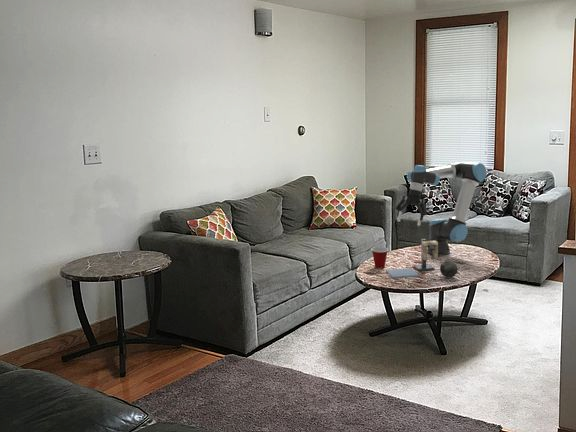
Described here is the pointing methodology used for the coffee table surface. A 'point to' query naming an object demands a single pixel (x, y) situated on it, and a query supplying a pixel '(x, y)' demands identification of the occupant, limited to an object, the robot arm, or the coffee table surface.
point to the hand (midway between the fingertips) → (408, 223)
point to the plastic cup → (379, 256)
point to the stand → (423, 265)
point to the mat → (402, 273)
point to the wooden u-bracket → (424, 249)
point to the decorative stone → (448, 269)
